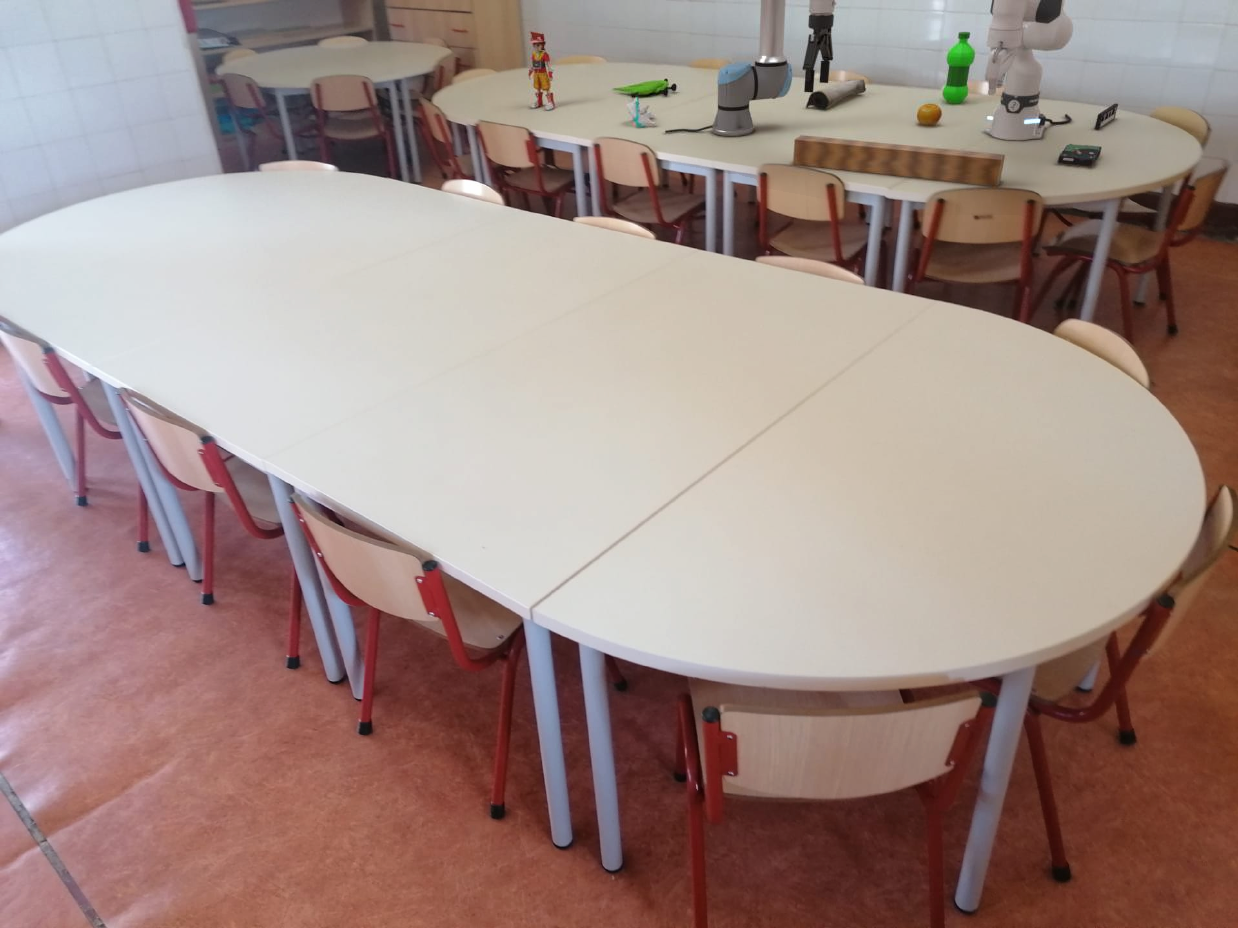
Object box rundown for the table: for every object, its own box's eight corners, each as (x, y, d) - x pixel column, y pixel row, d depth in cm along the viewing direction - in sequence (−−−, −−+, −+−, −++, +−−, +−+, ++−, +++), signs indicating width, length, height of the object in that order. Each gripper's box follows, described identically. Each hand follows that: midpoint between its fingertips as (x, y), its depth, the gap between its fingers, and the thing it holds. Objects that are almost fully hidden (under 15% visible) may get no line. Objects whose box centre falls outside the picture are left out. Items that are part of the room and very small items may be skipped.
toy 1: (525, 109, 381) (517, 32, 364) (534, 104, 388) (527, 28, 371) (550, 110, 377) (543, 32, 360) (559, 105, 384) (553, 28, 367)
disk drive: (1092, 168, 280) (1100, 154, 290) (1094, 159, 278) (1102, 146, 288) (1057, 164, 285) (1065, 151, 295) (1059, 155, 283) (1067, 142, 293)
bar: (793, 164, 299) (794, 139, 295) (799, 159, 303) (800, 135, 299) (996, 186, 271) (1001, 159, 266) (1000, 181, 275) (1005, 154, 270)
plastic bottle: (973, 101, 354) (984, 32, 339) (955, 106, 349) (966, 36, 335) (952, 97, 361) (962, 29, 346) (934, 102, 356) (944, 33, 342)
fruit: (911, 116, 327) (926, 96, 324) (913, 119, 335) (927, 100, 332) (931, 129, 325) (945, 109, 322) (931, 132, 333) (946, 112, 330)
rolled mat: (841, 83, 376) (857, 68, 368) (853, 102, 377) (870, 86, 369) (802, 102, 359) (819, 86, 351) (815, 121, 359) (832, 105, 351)
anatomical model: (623, 97, 354) (648, 90, 354) (629, 123, 360) (653, 116, 359) (626, 106, 342) (652, 99, 341) (633, 133, 348) (658, 126, 347)
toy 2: (686, 85, 398) (631, 84, 414) (685, 72, 395) (629, 72, 411) (651, 104, 381) (596, 103, 397) (650, 92, 378) (594, 91, 394)
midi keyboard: (1098, 129, 313) (1101, 114, 311) (1094, 129, 314) (1098, 114, 311) (1114, 118, 324) (1118, 104, 321) (1111, 118, 325) (1114, 103, 322)
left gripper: (818, 21, 263) (813, 97, 275) (847, 7, 280) (840, 79, 292) (794, 20, 266) (790, 95, 278) (823, 7, 283) (818, 78, 295)
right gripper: (1008, 46, 243) (998, 100, 251) (1023, 33, 258) (1013, 84, 265) (984, 45, 246) (975, 98, 254) (1000, 32, 260) (991, 83, 268)
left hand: (816, 87), depth 285 cm, fingers open, 13 cm apart
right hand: (994, 91), depth 260 cm, fingers open, 8 cm apart
